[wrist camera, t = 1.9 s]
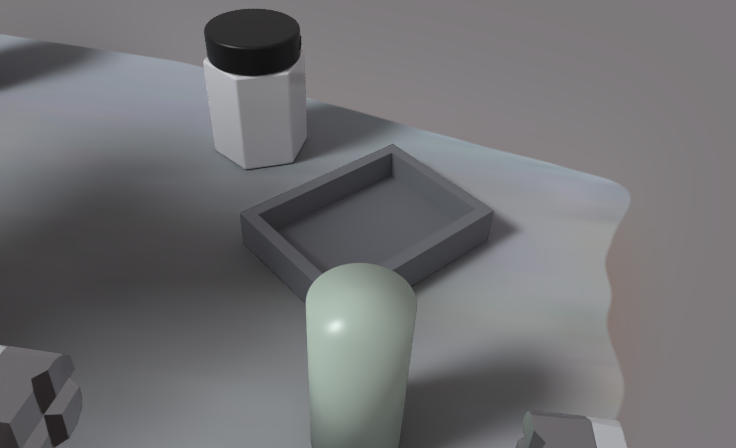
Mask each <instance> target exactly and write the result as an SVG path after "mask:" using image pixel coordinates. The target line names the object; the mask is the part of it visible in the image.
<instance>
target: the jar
mask: <svg viewBox="0 0 736 448" xmlns="http://www.w3.org/2000/svg"><path fill="white" fill-rule="evenodd" d="M204 34H205V42H206V49H207V57H206V58H205V59H204V61H203V65H204V73H205V80H206V87H207V94H208V101H209V109H210V116H211V123H212V130H213V137H214V144H215V149H216V150H217V151H218V152H220V153H221V154H223V155H224V156H226V157H227V158H229V159H230V160H232V161H233V162H235V163H236V164H238V165H239V166H241V167H242V168H244V169H253V168H260V167H267V166H274V165H281V164H289V163H293V162H294V160H295V158H296V156H297V154H298V153H299V151H300V149H301V147H302V145H303V144H304V142H305V140H306V138H307V118H306V82H305V52H304V51H303V50H302V49H301V36H300V27H299V24H298V23H297V21H296V20H295V19H293V18H292V17H290V16H288V15H286V14H284V13H281V12H277V11H273V10H266V9H242V10H235V11H230V12H227V13H223V14H221V15H218V16H216V17H214V18H213V19H211V20H210V21H209V22H208V23H207V24H206V26H205V29H204Z"/></svg>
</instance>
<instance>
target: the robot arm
mask: <svg viewBox="0 0 736 448" xmlns="http://www.w3.org/2000/svg"><path fill="white" fill-rule="evenodd" d="M74 369H75V368H74V365H73V363H72V360H71V357H70V356H69V355H66V354H61V353H54V352H47V351H40V350H34V349H27V348H20V347H14V346H5V345H0V448H55V447H56V446H58V445H59V444H61V443H62V442H64V441H65V440H67V439H69V438H70V436H71V434H72V432H73V431H74V429H75V427H76V425H77V423H78V419H79V416H80V413H81V409H82V394H81V390H80V386H79V385H78V384H77V383H75V382H74V381H73V380H72V379H71V378H70V375H71V374H72V372H73V371H74ZM522 425H523V434H524V437H523V438H521V439H520V440H518V441H517V445H516V448H628V447H627V443H626V439H625V436H624V432H623V429H622V426H621V424H620V423H619V422H618V421H617V420H610V419H602V418H594V417H585V416H580V415H570V414H561V413H552V412H543V411H534V410H528V411H527V413H526V414H525V417H524V421H523V424H522Z"/></svg>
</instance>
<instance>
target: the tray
mask: <svg viewBox="0 0 736 448" xmlns="http://www.w3.org/2000/svg"><path fill="white" fill-rule="evenodd" d="M493 212H494V210H492V209H491V208H489V207H488V206H486V205H485V204H483V203H482V202H480V201H479V200H477V199H476V198H474V197H473V196H471V195H470V194H468V193H467V192H465V191H463V190H462V189H460V188H459V187H457V186H456V185H454V184H453V183H451V182H450V181H448V180H447V179H445V178H444V177H442V176H441V175H439V174H438V173H436V172H435V171H433V170H432V169H430V168H429V167H427V166H426V165H424V164H423V163H421V162H420V161H418V160H417V159H415V158H414V157H412V156H411V155H409V154H408V153H406V152H405V151H403V150H402V149H400V148H399V147H397V146H395V145H394V144H391V145H389V146H387V147H385V148H382V149H380V150H378V151H376V152H374V153H371V154H369V155H367V156H365V157H363V158H360V159H358V160H356V161H354V162H352V163H349V164H347V165H345V166H343V167H341V168H338V169H336V170H334V171H332V172H330V173H327V174H325V175H323V176H321V177H318V178H316V179H314V180H312V181H310V182H307V183H305V184H303V185H301V186H299V187H296V188H294V189H292V190H290V191H288V192H285V193H283V194H281V195H279V196H277V197H274V198H272V199H270V200H268V201H266V202H263V203H261V204H259V205H257V206H255V207H252V208H250V209H248V210H246V211H243V212H241V213H240V218H241V226H242V235H243V243H244V244H245V245H246V246H247V247H248V248H249V249H250V250H251V251H252V252H253V253H254V254H255V255H256V256H257V257H258V258H260V259H261V260H262V261H263V262H264V263H265V264H266V265H267V266H268V267H269V268H270V269H271V270H272V271H273V272H274V273H275V274H276V275H277V276H278V277H279V278H280V279H281V280H282V281H283V282H284V283H285V284H286V285H287V286H288V287H289V288H290V289H291V290H292V291H293V292H294V293H295V294H296V295H297V296H298V297H299V298H300V299H301V300H302V301H303V302H304V303H305V304H306V296H307V293H308V290H309V288H310V287H311V285H312V284H313V282H314V281H315V280H316V279H317V278H318V277H319V276H321V275H322V274H323V273H325V272H326V271H328V270H330V269H332V268H335V267H338V266H341V265H345V264H351V263H369V264H375V265H379V266H382V267H386V268H388V269H390V270H392V271H394V272H396V273H397V274H399V275H400V276H402V277H403V278H404V279H405V280H406V281H407V282H408V283H409V285H410V286H411V287H412V286H413V285H415V284H416V283H418V282H420V281H421V280H423V279H425V278H426V277H428V276H429V275H431V274H433V273H434V272H436V271H437V270H439V269H441V268H442V267H444V266H446V265H447V264H449V263H450V262H452V261H454V260H455V259H457V258H458V257H460V256H462V255H463V254H465V253H466V252H468V251H470V250H471V249H473V248H475V247H476V246H478V245H479V244H481V243H483V242H484V241H486V240H487V239H488V235H489V230H490V226H491V221H492V216H493Z"/></svg>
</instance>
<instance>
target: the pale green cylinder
mask: <svg viewBox="0 0 736 448" xmlns="http://www.w3.org/2000/svg"><path fill="white" fill-rule="evenodd" d="M416 310H417V300H416V296H415V293H414V291H413V289H412V288H411V286H410V285H409V283H408V282H407V281H406V280H405V279H404V278H403V277H402V276H400V275H399V274H397V273H396V272H394V271H392V270H390V269H388V268H386V267H382V266H379V265H375V264H369V263H351V264H345V265H341V266H338V267H335V268H332V269H330V270H328V271H326V272H325V273H323V274H322V275H321V276H319V277H318V278H317V279H316V280H315V281H314V282H313V284H312V285H311V287H310V288H309V290H308V293H307V296H306V323H307V349H308V375H309V401H310V427H311V444H312V448H399V443H400V435H401V428H402V420H403V412H404V404H405V396H406V389H407V381H408V373H409V365H410V357H411V349H412V342H413V334H414V326H415V318H416Z"/></svg>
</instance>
